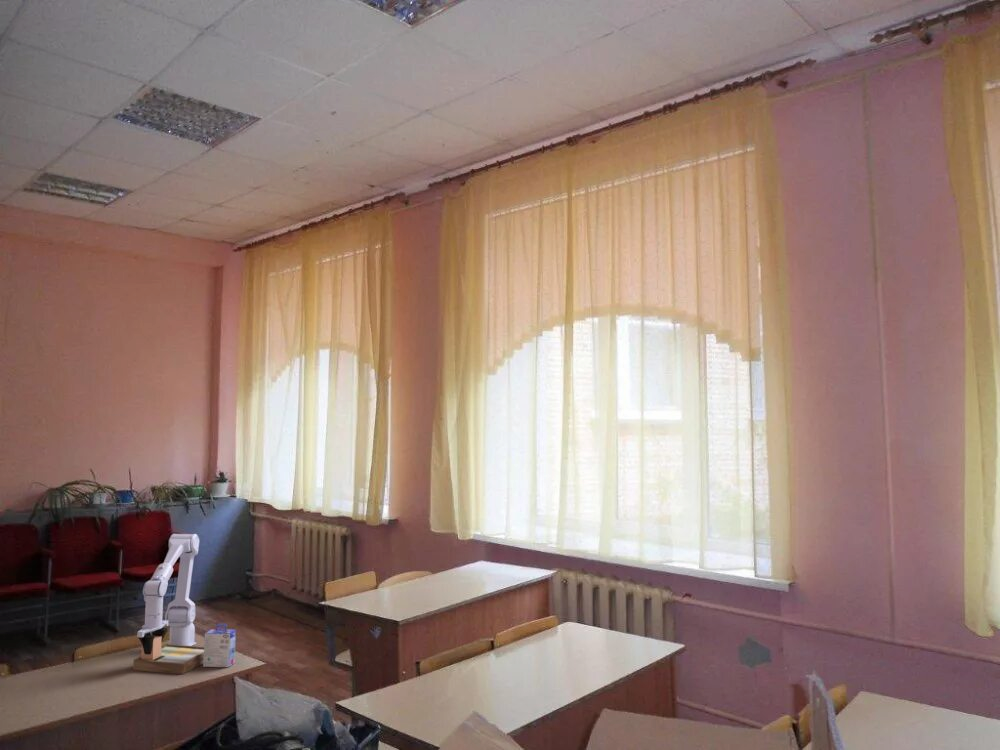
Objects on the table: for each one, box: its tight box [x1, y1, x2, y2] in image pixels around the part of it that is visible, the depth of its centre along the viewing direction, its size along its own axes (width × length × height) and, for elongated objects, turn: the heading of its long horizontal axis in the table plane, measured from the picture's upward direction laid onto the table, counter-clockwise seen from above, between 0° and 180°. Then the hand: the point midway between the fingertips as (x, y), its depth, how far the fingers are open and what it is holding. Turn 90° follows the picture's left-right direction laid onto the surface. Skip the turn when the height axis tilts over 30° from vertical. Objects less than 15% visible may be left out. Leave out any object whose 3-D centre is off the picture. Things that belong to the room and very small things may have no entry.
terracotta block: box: [140, 636, 163, 660], centre depth 255 cm, size 5×5×7 cm
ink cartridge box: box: [202, 623, 237, 668], centre depth 257 cm, size 10×6×14 cm, turn 88°
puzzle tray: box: [132, 643, 204, 675], centre depth 258 cm, size 18×20×4 cm
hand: (152, 651), depth 255 cm, fingers closed on terracotta block, 5 cm apart
